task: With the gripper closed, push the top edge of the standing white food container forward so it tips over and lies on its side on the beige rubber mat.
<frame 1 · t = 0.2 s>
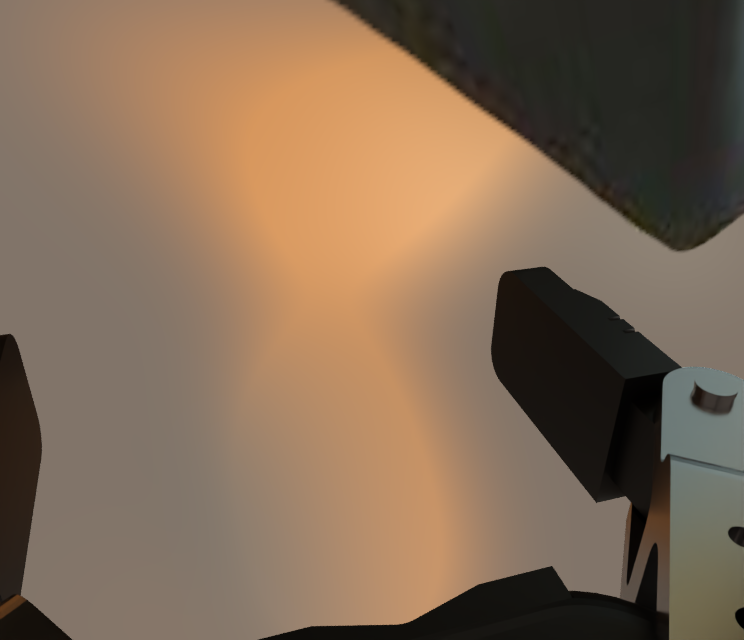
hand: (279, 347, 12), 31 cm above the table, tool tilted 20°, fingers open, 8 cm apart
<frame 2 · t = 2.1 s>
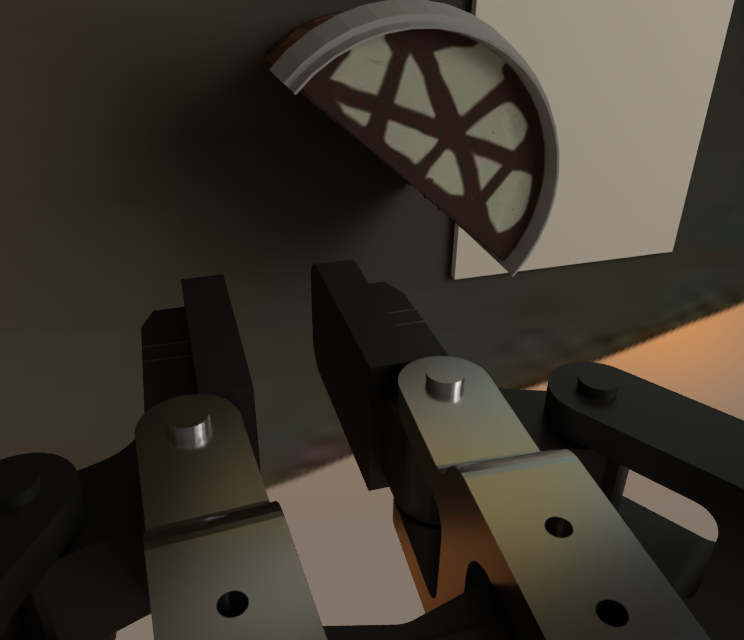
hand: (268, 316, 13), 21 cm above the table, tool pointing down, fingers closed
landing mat: (596, 61, 35), on the table
food container: (385, 69, 33), on the table
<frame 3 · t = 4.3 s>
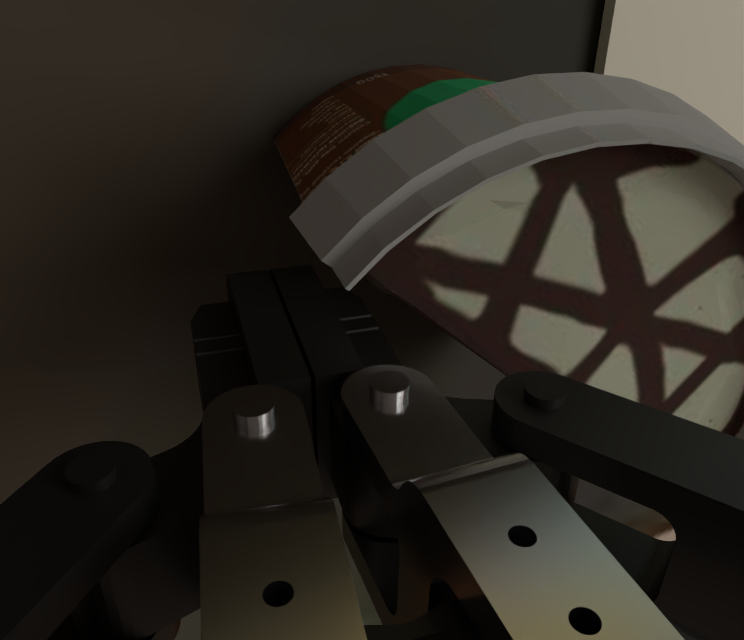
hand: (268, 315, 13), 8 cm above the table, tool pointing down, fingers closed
food container: (459, 150, 21), on the table, touching gripper
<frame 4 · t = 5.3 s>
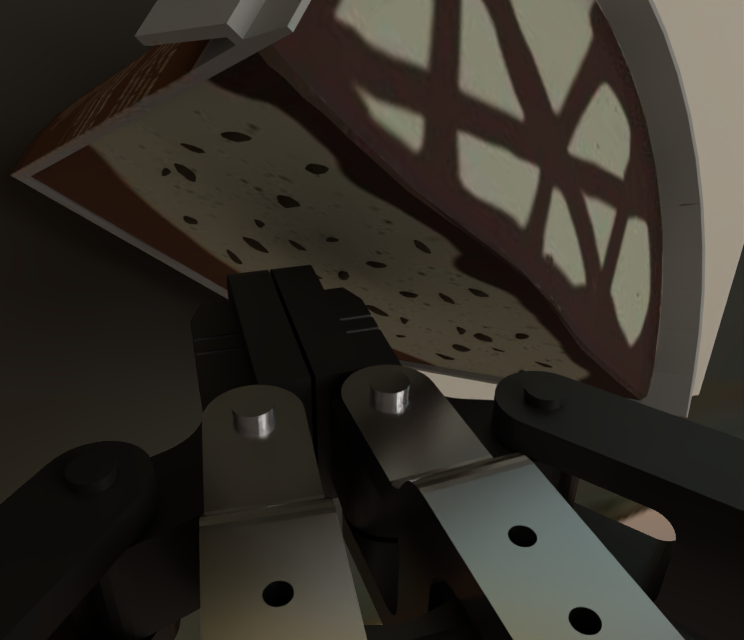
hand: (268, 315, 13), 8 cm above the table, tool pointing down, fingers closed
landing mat: (584, 135, 22), on the table
food container: (237, 173, 18), point 1 cm above the table
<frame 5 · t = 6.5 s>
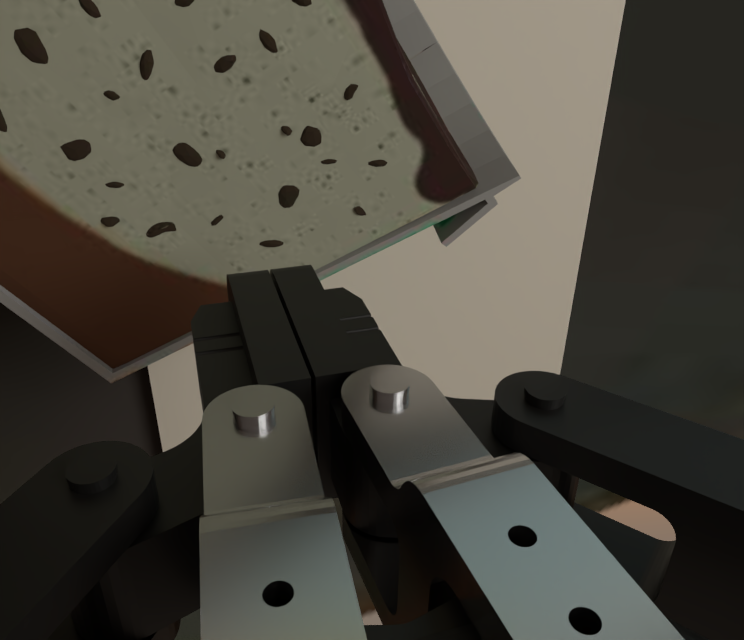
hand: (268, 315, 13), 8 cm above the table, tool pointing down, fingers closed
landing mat: (374, 163, 20), on the table
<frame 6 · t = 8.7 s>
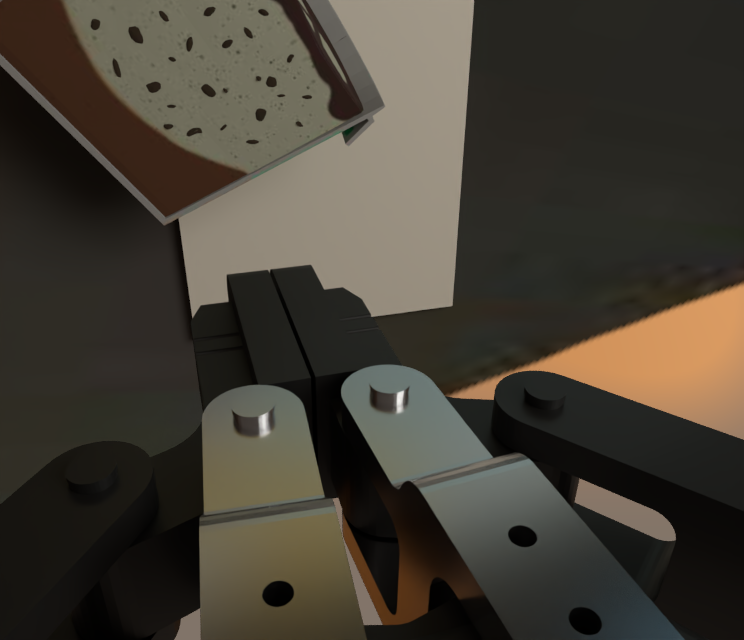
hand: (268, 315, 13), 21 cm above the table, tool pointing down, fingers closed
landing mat: (321, 110, 33), on the table
food container: (84, 107, 28), point 2 cm above the table, touching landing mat
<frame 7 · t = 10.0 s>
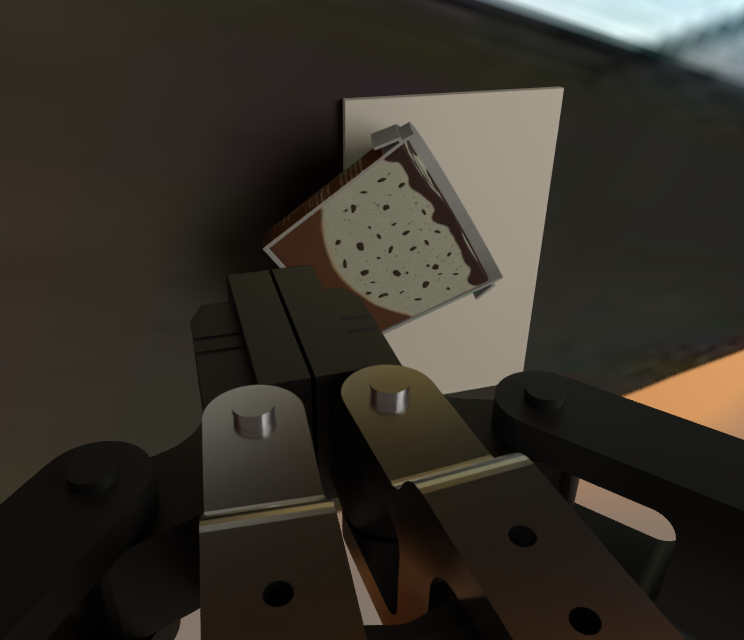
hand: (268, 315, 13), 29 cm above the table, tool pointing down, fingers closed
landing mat: (444, 259, 48), on the table
food container: (303, 272, 43), point 2 cm above the table, touching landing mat
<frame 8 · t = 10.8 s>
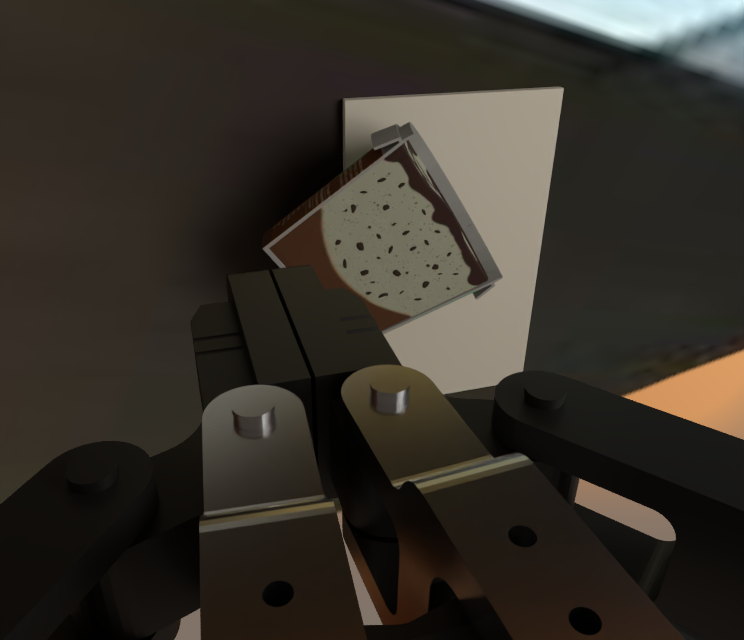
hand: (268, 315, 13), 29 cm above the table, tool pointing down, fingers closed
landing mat: (444, 259, 48), on the table
food container: (303, 272, 43), point 2 cm above the table, touching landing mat
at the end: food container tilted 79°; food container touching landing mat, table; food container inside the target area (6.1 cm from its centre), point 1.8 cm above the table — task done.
